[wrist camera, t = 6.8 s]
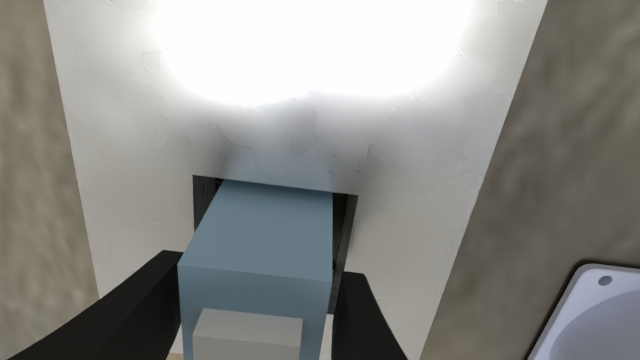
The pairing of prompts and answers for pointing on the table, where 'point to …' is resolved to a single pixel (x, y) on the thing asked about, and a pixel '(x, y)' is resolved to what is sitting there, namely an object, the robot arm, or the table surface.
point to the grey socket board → (291, 125)
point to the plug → (258, 274)
